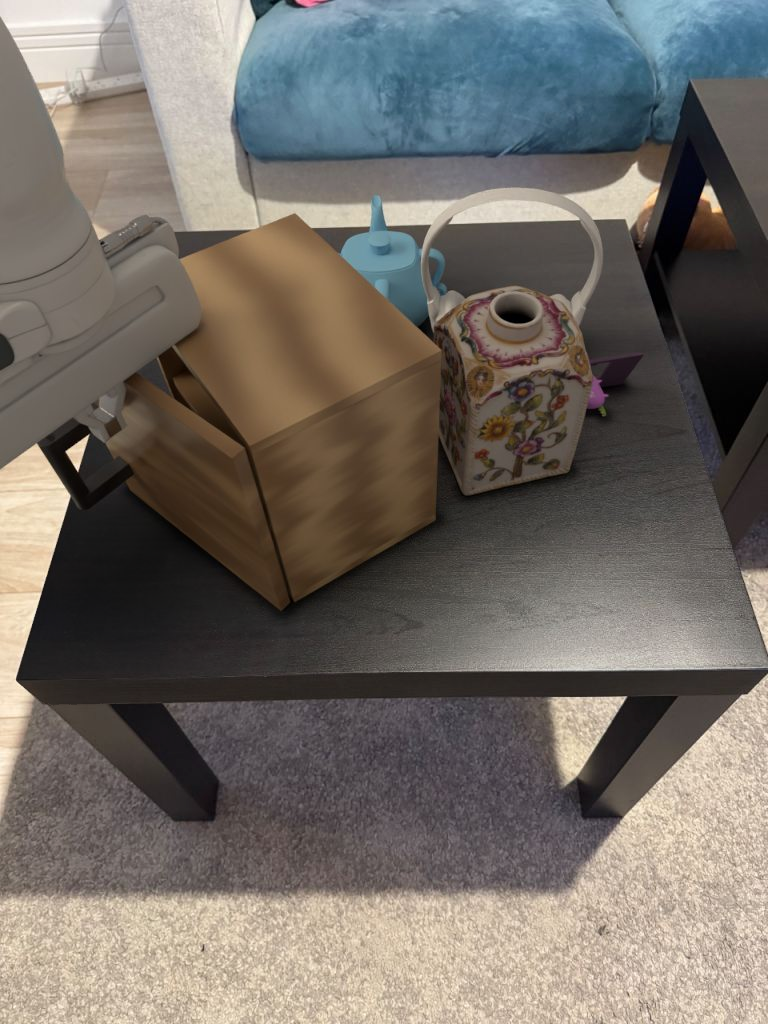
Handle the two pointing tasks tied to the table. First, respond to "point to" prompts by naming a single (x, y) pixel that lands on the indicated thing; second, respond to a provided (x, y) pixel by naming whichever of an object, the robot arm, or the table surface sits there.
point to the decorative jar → (510, 388)
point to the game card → (611, 376)
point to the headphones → (452, 298)
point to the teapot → (393, 265)
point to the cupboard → (313, 396)
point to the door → (180, 481)
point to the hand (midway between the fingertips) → (110, 430)
